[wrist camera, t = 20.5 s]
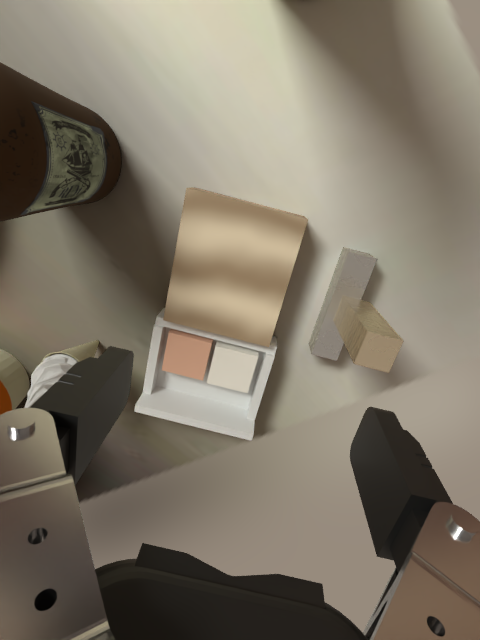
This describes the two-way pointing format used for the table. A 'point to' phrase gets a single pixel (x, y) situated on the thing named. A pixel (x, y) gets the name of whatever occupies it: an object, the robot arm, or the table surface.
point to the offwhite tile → (232, 366)
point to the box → (202, 388)
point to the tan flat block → (232, 266)
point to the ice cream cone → (56, 369)
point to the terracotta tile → (187, 354)
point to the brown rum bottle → (50, 149)
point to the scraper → (354, 318)
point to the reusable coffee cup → (11, 382)
